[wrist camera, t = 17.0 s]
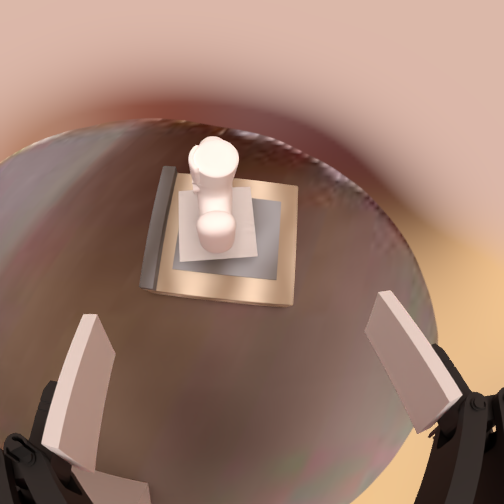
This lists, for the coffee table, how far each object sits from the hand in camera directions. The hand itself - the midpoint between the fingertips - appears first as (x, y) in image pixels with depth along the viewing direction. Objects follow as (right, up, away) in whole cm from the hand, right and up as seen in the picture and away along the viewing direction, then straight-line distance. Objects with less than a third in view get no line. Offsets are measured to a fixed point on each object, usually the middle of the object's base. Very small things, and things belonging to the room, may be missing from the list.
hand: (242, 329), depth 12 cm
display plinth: (-3, +4, +22) cm, 23 cm away
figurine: (-3, +5, +18) cm, 19 cm away
